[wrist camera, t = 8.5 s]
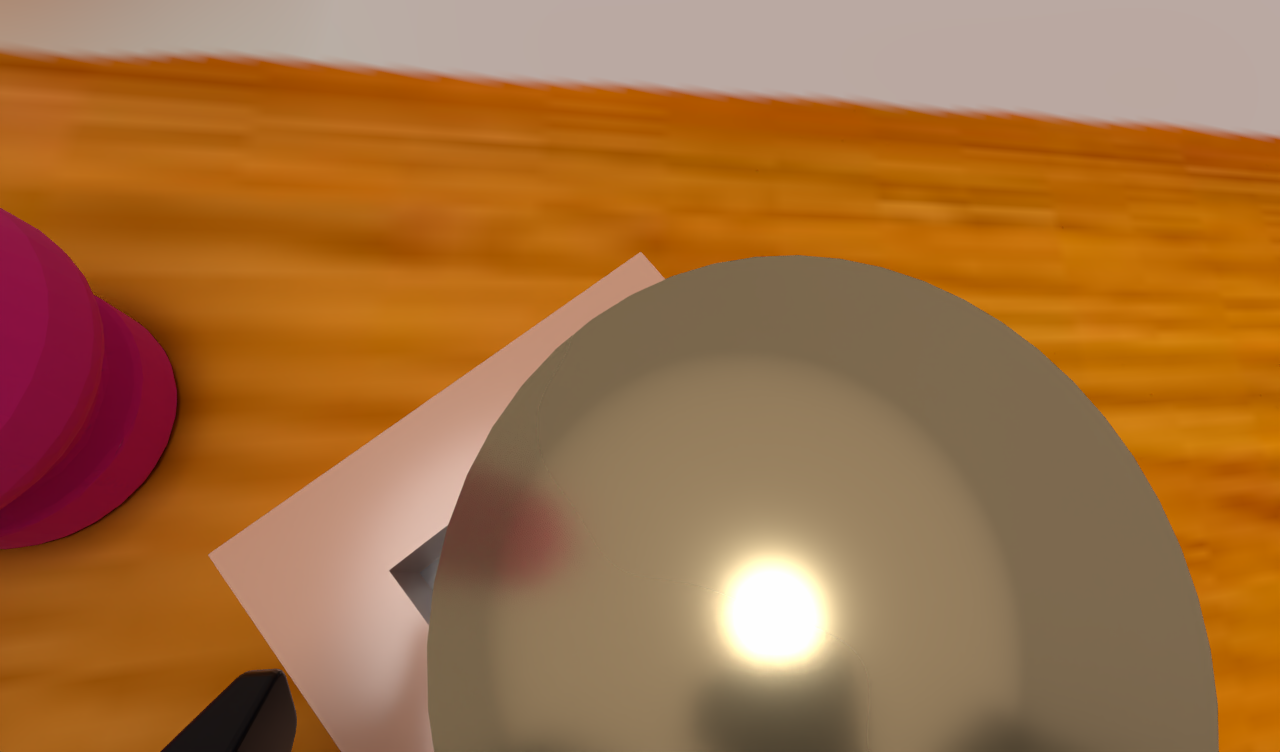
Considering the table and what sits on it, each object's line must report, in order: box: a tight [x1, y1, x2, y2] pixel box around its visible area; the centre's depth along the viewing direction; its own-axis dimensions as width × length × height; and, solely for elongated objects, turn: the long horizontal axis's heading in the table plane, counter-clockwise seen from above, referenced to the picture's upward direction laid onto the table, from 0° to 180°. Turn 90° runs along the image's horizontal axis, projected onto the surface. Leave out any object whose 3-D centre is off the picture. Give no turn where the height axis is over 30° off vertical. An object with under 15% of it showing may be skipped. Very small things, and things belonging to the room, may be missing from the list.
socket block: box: [208, 252, 665, 752], centre depth 15 cm, size 11×11×4 cm
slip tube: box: [427, 255, 1219, 752], centre depth 9 cm, size 5×5×14 cm
